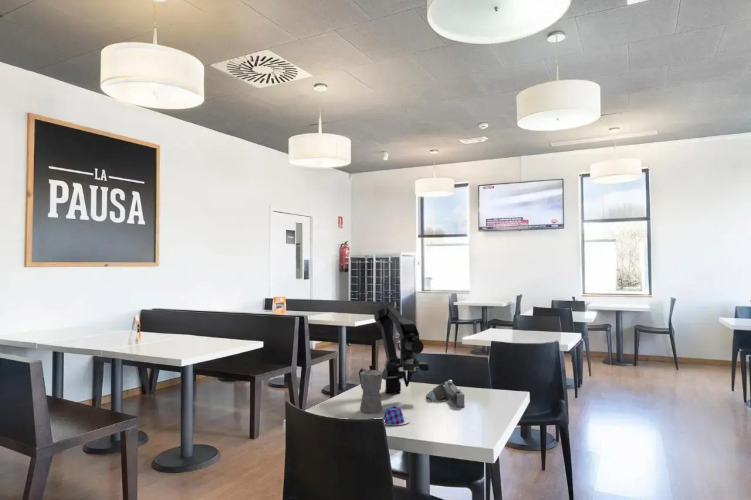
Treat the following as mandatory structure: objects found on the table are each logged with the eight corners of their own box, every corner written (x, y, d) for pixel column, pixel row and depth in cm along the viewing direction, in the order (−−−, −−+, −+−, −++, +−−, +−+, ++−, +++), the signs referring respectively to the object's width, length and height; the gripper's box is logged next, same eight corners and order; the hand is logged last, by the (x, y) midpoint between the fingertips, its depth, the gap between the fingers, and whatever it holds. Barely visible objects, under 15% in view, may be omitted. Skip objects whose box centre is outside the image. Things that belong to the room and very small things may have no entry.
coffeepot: (390, 412, 197) (390, 366, 198) (370, 416, 192) (370, 369, 193) (369, 404, 210) (369, 361, 211) (349, 407, 205) (349, 363, 206)
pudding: (390, 415, 194) (390, 402, 194) (416, 421, 187) (416, 407, 187) (370, 423, 185) (370, 408, 185) (397, 429, 177) (397, 414, 178)
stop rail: (457, 407, 205) (457, 391, 206) (444, 392, 231) (444, 378, 232) (464, 407, 206) (464, 390, 206) (451, 392, 232) (450, 378, 232)
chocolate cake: (419, 397, 225) (425, 382, 217) (432, 391, 228) (438, 376, 220) (432, 414, 220) (438, 400, 212) (444, 408, 223) (451, 393, 215)
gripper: (387, 353, 211) (387, 391, 210) (431, 353, 212) (431, 390, 211) (384, 349, 222) (384, 385, 221) (426, 349, 223) (426, 384, 222)
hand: (406, 386), depth 219 cm, fingers closed
